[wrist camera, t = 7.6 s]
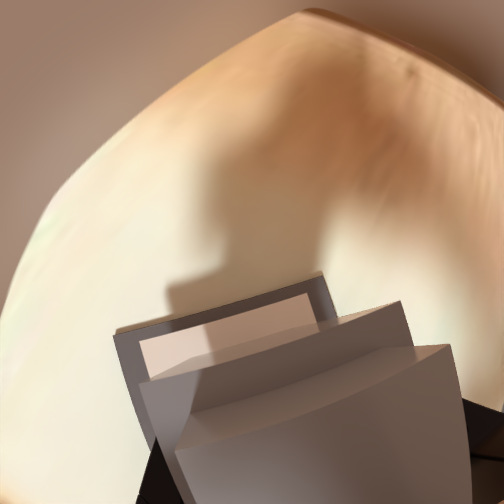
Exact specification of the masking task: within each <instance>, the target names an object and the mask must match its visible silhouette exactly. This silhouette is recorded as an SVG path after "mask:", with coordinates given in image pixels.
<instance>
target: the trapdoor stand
mask: <svg viewBox="0 0 504 504" xmlns="http://www.w3.org/2000/svg"><path fill="white" fill-rule="evenodd" d="M305 293H307V295H308V298H309V301H310V304H311V307H312V310H313V313H314V316H315V319H316V322H317V323H318V322H322V321H326V320H330V319H334V318H337V316H336V313H335V310H334V307H333V304H332V301H331V298H330V295H329V293H328V290H327V287H326V284H325V281H324V278H323V276H320V277H317V278H313V279H310V280H307V281H304V282H301V283H298V284H294V285H291V286H288V287H285V288H282V289H278V290H275V291H272V292H269V293H265V294H262V295H259V296H255V297H252V298H249V299H245V300H242V301H238V302H235V303H232V304H228V305H225V306H221V307H218V308H214V309H211V310H207V311H204V312H200V313H197V314H193V315H189V316H186V317H182V318H178V319H175V320H171V321H167V322H164V323H160V324H156V325H152V326H148V327H145V328H141V329H137V330H133V331H129V332H125V333H121V334H117V335H113V339H114V343H115V346H116V350H117V354H118V357H119V361H120V364H121V368H122V371H123V375H124V378H125V381H126V384H127V388H128V391H129V394H130V397H131V400H132V403H133V406H134V409H135V412H136V414H137V417H138V420H139V423H140V426H141V428H142V431H143V434H144V436H145V439H146V441H147V444H148V446H149V449H150V451H151V450H152V446H153V443H154V440H155V437H156V434H155V432H154V429H153V426H152V423H151V421H150V418H149V415H148V412H147V409H146V406H145V403H144V400H143V397H142V394H141V391H140V387H139V383H141V382H143V381H145V380H147V379H149V378H150V377H149V373H148V370H147V367H146V363H145V360H144V357H143V353H142V350H141V346H140V342H139V341H142V340H146V339H150V338H154V337H158V336H162V335H166V334H169V333H173V332H177V331H181V330H184V329H188V328H192V327H195V326H199V325H202V324H206V323H210V322H213V321H217V320H220V319H224V318H227V317H230V316H234V315H237V314H241V313H244V312H247V311H251V310H254V309H257V308H260V307H264V306H267V305H270V304H273V303H277V302H280V301H283V300H286V299H289V298H292V297H295V296H298V295H302V294H305Z"/></svg>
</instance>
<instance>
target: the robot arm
mask: <svg viewBox="0 0 504 504" xmlns="http://www.w3.org/2000/svg"><path fill="white" fill-rule="evenodd" d="M462 402H463V408H464V414H465V421H466V428H467V436H468V444H469V454H470V465H471V480H472V504H504V413H502V412H499V411H496V410H493V409H490V408H487V407H484V406H482V405H479V404H476V403H473V402H471V401H468V400H466V399H463V398H462ZM136 504H184V501H183V499H182V497H181V495H180V493H179V491H178V488H177V486H176V484H175V482H174V479H173V477H172V475H171V472H170V470H169V468H168V465H167V463H166V460H165V458H164V455H163V453H162V450H161V448H160V445H159V442H158V440H157V437H155V440H154V443H153V446H152V450H151V453H150V456H149V460H148V463H147V466H146V470H145V473H144V476H143V480H142V483H141V487H140V490H139V495H138V497H137V500H136Z"/></svg>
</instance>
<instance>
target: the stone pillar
mask: <svg viewBox="0 0 504 504" xmlns="http://www.w3.org/2000/svg"><path fill="white" fill-rule="evenodd" d="M139 387H140V391H141V394H142V397H143V400H144V403H145V406H146V409H147V412H148V415H149V418H150V421H151V423H152V426H153V429H154V432H155V434H156V437H157V440H158V442H159V445H160V448H161V450H162V453H163V455H164V458H165V460H166V463H167V465H168V468H169V470H170V472H171V475H172V477H173V479H174V482H175V484H176V486H177V488H178V491H179V493H180V495H181V497H182V499H183V501H184V504H472V480H471V465H470V454H469V444H468V436H467V428H466V421H465V414H464V408H463V402H462V397H461V391H460V386H459V381H458V376H457V371H456V367H455V362H454V358H453V354H452V350H451V346H450V344H441V345H426V346H414V344H413V341H412V337H411V334H410V330H409V327H408V323H407V320H406V317H405V314H404V310H403V307H402V304H401V301H396V302H393V303H390V304H386V305H383V306H379V307H376V308H372V309H368V310H365V311H361V312H357V313H353V314H350V315H346V316H342V317H338V318H334V319H330V320H326V321H322V322H318V323H313V324H309V325H305V326H301V327H296V328H292V329H287V330H284V331H281V332H278V333H274V334H271V335H268V336H265V337H262V338H258V339H255V340H252V341H248V342H245V343H242V344H238V345H235V346H231V347H228V348H224V349H221V350H217V351H214V352H210V353H206V354H203V355H199V356H195V357H192V358H190V359H188V360H186V361H184V362H182V363H180V364H178V365H176V366H174V367H172V368H170V369H168V370H166V371H164V372H162V373H160V374H158V375H156V376H153V377H151V378H149V379H147V380H145V381H143V382H141V383H139Z"/></svg>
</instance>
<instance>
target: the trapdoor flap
mask: <svg viewBox="0 0 504 504" xmlns="http://www.w3.org/2000/svg"><path fill="white" fill-rule="evenodd" d="M313 323H317V322H316V319H315V316H314V313H313V310H312V307H311V304H310V301H309V298H308V295H307V293H305V294H302V295H298V296H295V297H292V298H289V299H286V300H283V301H280V302H277V303H273V304H270V305H267V306H264V307H260V308H257V309H254V310H251V311H247V312H244V313H241V314H237V315H234V316H230V317H227V318H224V319H220V320H217V321H213V322H210V323H206V324H202V325H199V326H195V327H192V328H188V329H184V330H181V331H177V332H173V333H169V334H166V335H162V336H158V337H154V338H150V339H146V340H142V341H139V342H140V346H141V350H142V353H143V357H144V360H145V363H146V367H147V370H148V373H149V377H150V378H151V377H153V376H156V375H158V374H160V373H162V372H164V371H166V370H168V369H170V368H172V367H174V366H176V365H178V364H180V363H182V362H184V361H186V360H188V359H190V358H192V357H195V356H199V355H203V354H206V353H210V352H214V351H217V350H221V349H224V348H228V347H231V346H235V345H238V344H242V343H245V342H248V341H252V340H255V339H258V338H262V337H265V336H268V335H271V334H274V333H278V332H281V331H284V330H287V329H292V328H296V327H301V326H305V325H309V324H313Z"/></svg>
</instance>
